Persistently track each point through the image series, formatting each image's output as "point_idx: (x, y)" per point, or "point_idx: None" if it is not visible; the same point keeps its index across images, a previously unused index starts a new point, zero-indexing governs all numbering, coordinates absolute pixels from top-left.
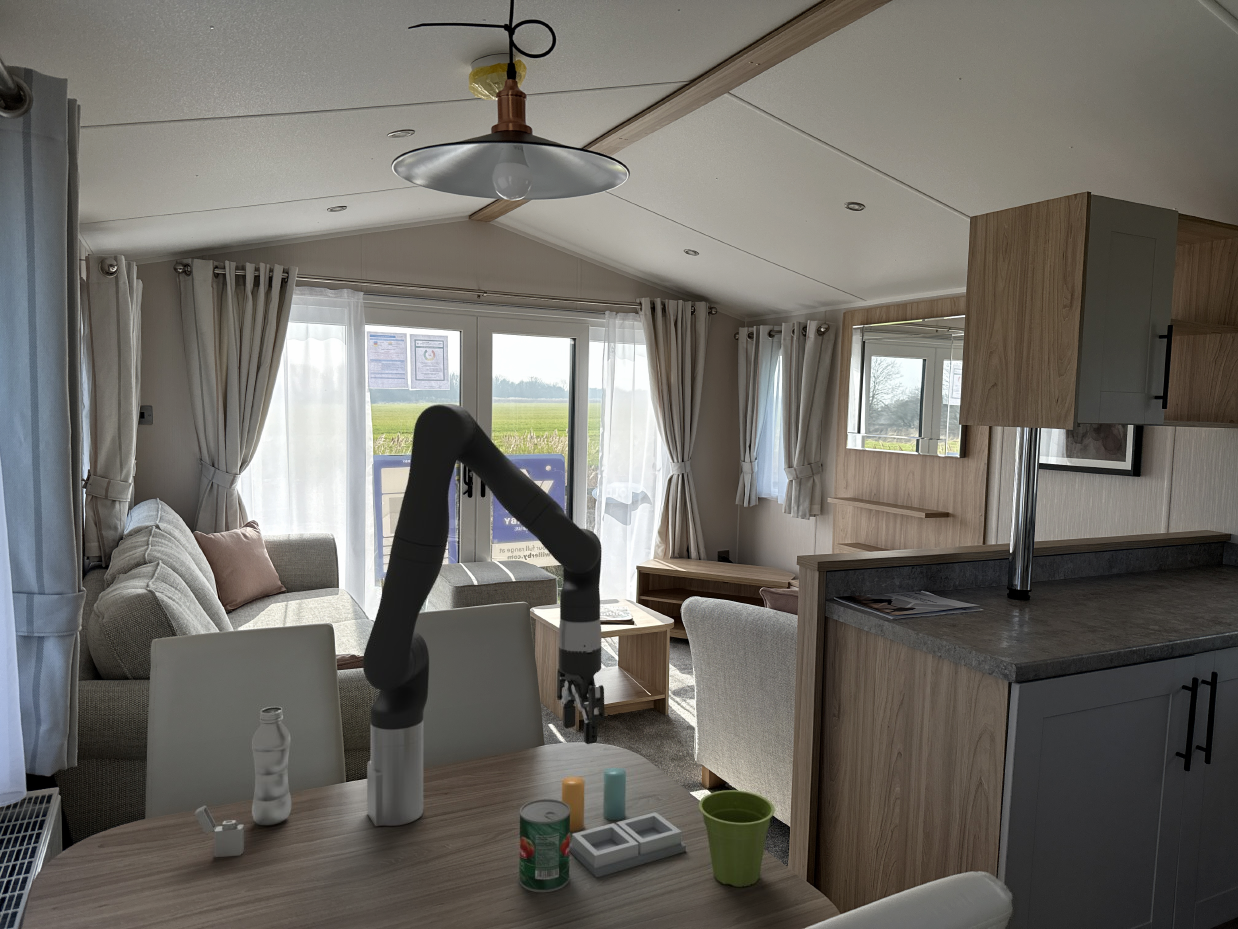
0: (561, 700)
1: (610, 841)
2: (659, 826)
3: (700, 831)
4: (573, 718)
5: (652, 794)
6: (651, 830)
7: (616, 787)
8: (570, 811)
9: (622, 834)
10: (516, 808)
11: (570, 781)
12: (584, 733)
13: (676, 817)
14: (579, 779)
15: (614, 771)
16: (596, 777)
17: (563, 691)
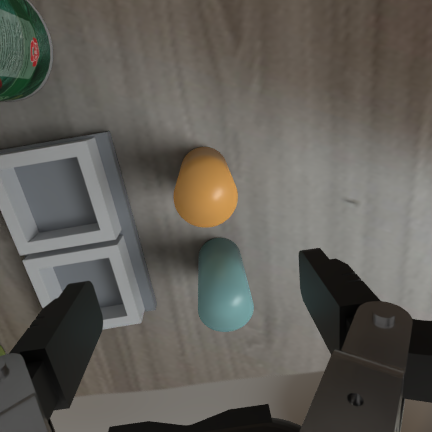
0: (407, 326)
1: (95, 215)
2: (111, 311)
3: (119, 359)
4: (314, 311)
5: (272, 339)
6: (119, 295)
7: (198, 289)
8: (181, 167)
9: (63, 240)
10: (329, 73)
11: (208, 190)
12: (66, 305)
13: (177, 344)
14: (213, 217)
15: (230, 309)
16: (385, 275)
17: (378, 414)
